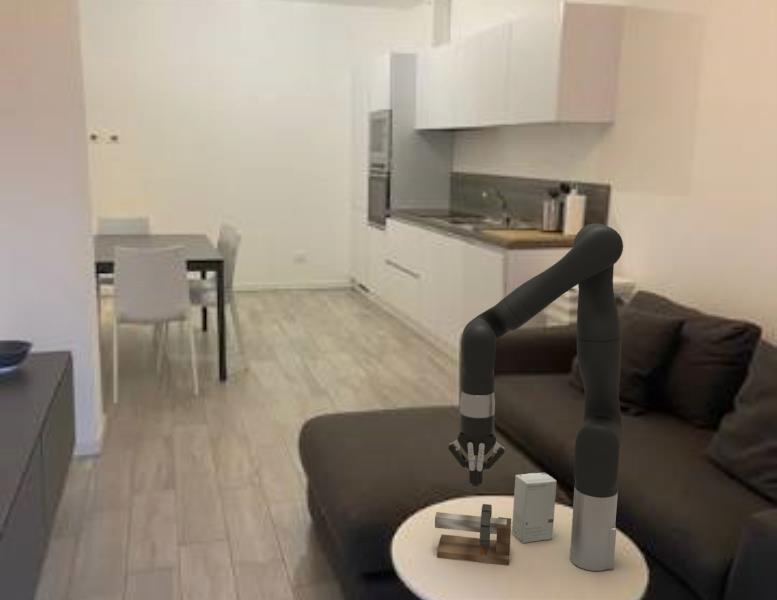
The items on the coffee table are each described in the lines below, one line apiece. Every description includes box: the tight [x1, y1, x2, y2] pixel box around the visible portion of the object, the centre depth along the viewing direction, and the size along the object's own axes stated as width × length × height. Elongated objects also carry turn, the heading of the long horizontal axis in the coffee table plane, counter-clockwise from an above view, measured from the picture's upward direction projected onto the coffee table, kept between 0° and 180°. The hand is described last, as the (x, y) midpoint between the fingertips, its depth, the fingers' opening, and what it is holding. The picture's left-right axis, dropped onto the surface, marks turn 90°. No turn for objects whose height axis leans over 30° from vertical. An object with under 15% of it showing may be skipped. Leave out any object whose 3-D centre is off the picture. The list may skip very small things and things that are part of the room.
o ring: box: [479, 503, 493, 546], centre depth 174 cm, size 2×9×9 cm, turn 169°
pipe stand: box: [434, 511, 512, 566], centre depth 175 cm, size 17×8×8 cm, turn 79°
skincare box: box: [511, 472, 557, 544], centre depth 183 cm, size 8×6×15 cm
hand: (475, 484), depth 173 cm, fingers closed
